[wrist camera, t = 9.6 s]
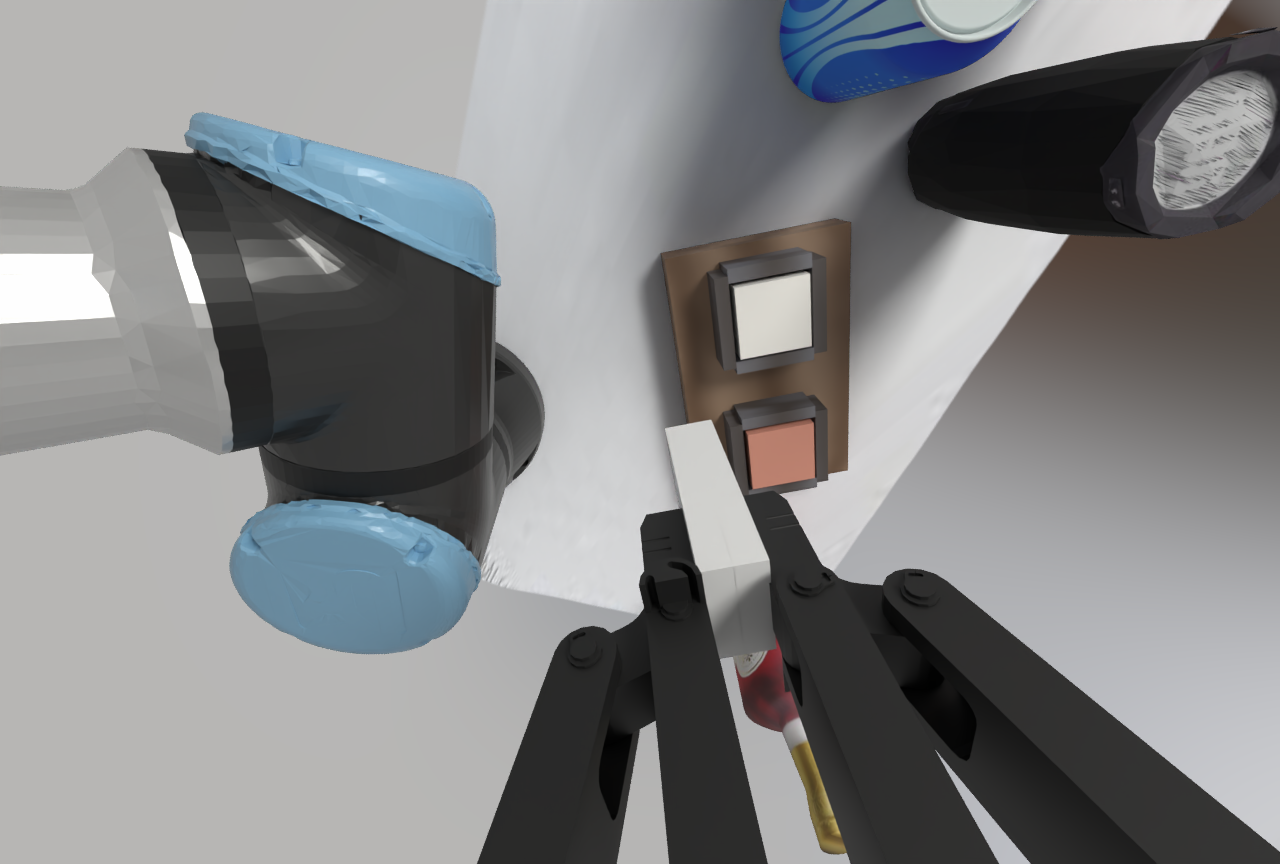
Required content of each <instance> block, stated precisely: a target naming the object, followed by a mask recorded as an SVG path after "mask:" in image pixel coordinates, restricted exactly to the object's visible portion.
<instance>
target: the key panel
mask: <svg viewBox="0 0 1280 864" xmlns="http://www.w3.org/2000/svg"><path fill="white" fill-rule="evenodd" d="M850 257H851V222H847V221H843V220H839V219H830V220H825V221H820V222H815V223H810V224H805V225H800V226H795V227H790V228H785V229H780V230H775V231H770V232H765V233H760V234H754V235H749V236H744V237H739V238H734V239H729V240H724V241H719V242H714V243H709V244H704V245H699V246H694V247H689V248H684V249H679V250H674V251H669V252H664V253H661V258H662V264H663V271H664V277H665V284H666V290H667V297H668V303H669V310H670V316H671V323H672V329H673V336H674V342H675V349H676V355H677V362H678V368H679V375H680V381H681V388H682V394H683V401H684V407H685V414H686V420H687V424H690V423H695V422H701V421H706V420H712V423H713V425H714V428H715V430H716V432H717V435H718V437H719V440H720V442H721V444H722V447H723V449H724V452H725V454H726V456H727V459H728V461H729V464H730V466H731V469H732V471H733V473H734V476H735V478H736V481H737V483H738V485H739V488H740V490H741V493H742V495H743V496H745V495H751V494H756V493H762V492H767V491H772V490H773V491H775V492H776V493H778V494H782V493H787V492H793V491H798V490H803V489H809V488H814V487H817V482H822V481H827V480H828V474H830V473H835V472H841V471H846V470H848V411H849V334H850ZM797 270H804V271H806V272H808V273H810V292H811V336H812V346H810V347H804V348H799V349H794V350H789V351H784V352H778V353H773V354H768V355H763V356H757V357H752V358H747V359H742V360H741V359H740V358H739V356H738V355H737V353H736V352H735V344H734V334H733V324H732V313H731V303H730V293H729V284H731V283H736V282H741V281H746V280H751V279H756V278H761V277H767V276H772V275H777V274H782V273H787V272H792V271H797ZM807 418H810V419H811V420H812V422H813V423H814V458H815V478H812V479H807V480H801V481H796V482H790V483H785V484H779V485H774V486H768V487H763V488H758V489H753V488H752V486H751V484H750V482H749V480H748V477H747V468H746V458H745V448H744V437H743V430H748V429H754V428H759V427H764V426H770V425H775V424H780V423H786V422H791V421H796V420H802V419H807Z"/></svg>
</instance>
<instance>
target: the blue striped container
mask: <svg viewBox="0 0 1280 864" xmlns="http://www.w3.org/2000/svg"><path fill="white" fill-rule="evenodd" d="M1036 1H1037V0H786V2H785V5H784V9H783V12H782V17H781V23H780V50H781V56H782V60H783V63H784V66H785V69H786V71H787V73H788V75H789V77H790V78H791V80H792V81H793V83H794V84H795V85H796V86H797V88H798V89H800V90H801V91H802V92H803V93H804V94H806V95H807V96H809V97H811V98H813V99H815V100H818V101H822V102H828V103H836V102H843V101H847V100H851V99H855V98H858V97H862V96H866V95H870V94H873V93H877V92H881V91H885V90H889V89H892V88H896V87H900V86H904V85H907V84H911V83H915V82H919V81H922V80H926V79H930V78H934V77H937V76H941V75H945V74H949V73H952V72H955V71H958V70H960V69H962V68H965V67H967V66H969V65H971V64H972V63H974V62H976V61H978V60H979V59H981V58H982V57H984V56H985V55H986V54H988V53H989V52H990V51H991V50H993V49H994V48H995V47H996V46H997V45H998V44H999V43H1000V42H1001V41H1002V40H1003V39H1004V38H1005V37H1006V36H1007V35H1008V34H1009V33H1010V32H1011V30H1012V29H1013V28H1014V27H1015V25H1016V24H1017V23H1018V22H1019V20H1020V19H1021V17H1022V16H1023V15H1025V14H1026V13H1027V11H1028V10H1029V9H1030V8H1031V7H1032V6H1033V5H1034V4H1035V3H1036Z"/></svg>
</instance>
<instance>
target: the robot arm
mask: <svg viewBox="0 0 1280 864" xmlns="http://www.w3.org/2000/svg"><path fill="white" fill-rule="evenodd" d="M184 136H185V140H186V144H187V146H189V147H191V148H192V149H194V153H176V152H166V151H158V150H148V149H138V148H126V149H125V150H123V151H122V152H121V153H120V154H119V155H118V156H116V157H115V158H114V159H113V160H112V161H111V162H110V163H109V164H107V165H106V166H105V167H104V168H103V169H102V170H101V171H100V172H98V173H97V174H96V175H95V176H94V177H93V178H92V179H91V180H90V181H89V182H87V183H86V184H85V185H83V186H81V187H78V188H74V189H69V190H52V189H35V188H18V187H2V186H0V455H6V454H11V453H17V452H23V451H29V450H34V449H40V448H46V447H51V446H57V445H63V444H68V443H75V442H80V441H86V440H92V439H97V438H103V437H109V436H114V435H120V434H126V433H132V432H137V431H143V430H152V431H157V432H162V433H167V434H170V435H172V436H175V437H177V438H180V439H182V440H184V441H187V442H189V443H192V444H194V445H196V446H199V447H201V448H203V449H206V450H208V451H210V452H213V453H215V454H218V455H220V454H225V453H230V452H235V451H240V450H244V449H249V448H254V447H259V451H260V456H261V461H262V465H263V471H264V476H265V480H266V485H267V490H268V500H267V504H266V507H265V509H264V510H262V511H260V512H257V513H256V514H255V515H254V516H253V517H251V518H250V519H248V521H247V523H246V524H245V525H244V526H243V527H242V529H241V532H240V533H241V535H240V536H239V538H238V539H237V541H236V542H235V544H234V547H233V549H232V552H231V557H230V573H231V578H232V581H233V583H234V586H235V588H236V589H237V591H238V593H239V595H240V596H241V598H242V599H243V600H244V602H245V603H246V604H247V605H248V606H249V607H250V608H251V609H252V610H253V611H254V612H255V613H256V614H257V615H258V616H259V617H261V618H262V619H263V620H264V621H266V622H268V623H269V624H271V625H272V626H274V627H275V628H276V629H278V630H280V631H282V632H285V633H287V634H290V635H293V636H295V637H296V638H298V639H300V640H302V641H304V642H307V643H309V644H312V645H315V646H318V647H322V648H326V649H330V650H336V651H340V652H347V653H356V654H389V653H396V652H402V651H407V650H411V649H414V648H418V647H421V646H423V645H425V644H427V643H428V642H429V641H431V640H432V639H436V638H438V637H440V636H442V635H444V634H445V633H447V632H448V631H449V630H450V629H451V628H452V627H454V625H455V624H456V623H457V622H458V621H459V620H460V618H461V616H462V615H463V613H464V612H465V610H466V607H467V605H468V602H469V600H470V598H471V595H472V593H473V592H474V591H475V590H476V589H477V587H478V584H479V582H480V579H481V566H482V562H483V559H484V556H485V552H486V549H487V546H488V543H489V539H490V536H491V533H492V529H493V526H494V523H495V520H496V516H497V513H498V510H499V506H500V503H501V500H502V497H503V493H504V490H505V487H507V486H508V485H509V484H510V483H511V482H512V481H513V480H514V479H515V478H517V477H518V476H519V475H520V474H521V473H522V472H523V471H524V470H525V469H526V468H527V466H528V465H529V464H530V462H531V461H532V459H533V458H534V456H535V454H536V452H537V450H538V447H539V444H540V441H541V437H542V432H543V428H544V420H545V412H544V404H543V399H542V395H541V392H540V390H539V387H538V385H537V383H536V381H535V379H534V377H533V376H532V374H531V373H530V371H529V370H528V369H527V367H526V366H525V365H524V364H523V363H522V362H521V361H520V360H519V359H518V358H517V357H516V356H515V355H514V354H513V353H512V352H510V351H509V350H508V349H506V348H505V347H503V346H502V345H500V344H499V343H497V342H495V332H496V287H499V286H501V278H500V276H499V275H498V274H497V263H496V224H495V217H494V213H493V210H492V207H491V205H490V203H489V202H488V200H487V199H486V198H485V196H484V195H483V194H482V193H481V192H480V191H479V190H478V189H477V188H476V187H474V186H473V185H471V184H469V183H467V182H465V181H462V180H459V179H456V178H452V177H449V176H445V175H442V174H438V173H434V172H430V171H427V170H423V169H419V168H416V167H412V166H408V165H404V164H401V163H397V162H393V161H389V160H385V159H382V158H378V157H374V156H370V155H366V154H362V153H358V152H354V151H350V150H347V149H343V148H339V147H335V146H331V145H327V144H323V143H319V142H315V141H311V140H307V139H303V138H300V137H297V136H293V135H289V134H284V133H281V132H276V131H273V130H269V129H265V128H262V127H259V126H255V125H252V124H248V123H244V122H240V121H237V120H233V119H228V118H225V117H221V116H217V115H213V114H209V113H196V114H194V115H193V116H192V118H191V119H190V126H189V130H188V131H187V132H186V133H185V135H184ZM665 431H666V437H667V442H668V448H669V454H670V459H671V465H672V471H673V476H674V482H675V488H676V493H677V499H678V503H679V508H680V509H675V510H670V511H664V512H659V513H653V514H648V515H646V517H645V519H644V521H643V523H642V525H641V527H640V531H641V541H642V551H643V562H644V572H643V574H642V575H641V577H640V582H639V588H640V592H641V596H642V600H643V604H644V609H643V611H642V612H641V614H640V615H639V616H638V617H637V618H636V619H635V620H634V621H633V622H631V623H630V624H629V625H626V626H625V627H623V628H621V629H619V630H617V631H615V632H612V633H610V632H608V631H607V630H606V629H604V628H600V627H595V626H590V627H583V628H580V629H578V630H576V631H573V632H571V633H570V634H569V635H567V636H566V637H565V638H564V639H563V640H562V641H561V642H560V644H559V645H558V647H557V649H556V650H555V652H554V655H553V658H552V661H551V663H550V666H549V669H548V672H547V674H546V677H545V680H544V682H543V685H542V688H541V691H540V694H539V696H538V699H537V702H536V704H535V707H534V710H533V713H532V715H531V718H530V721H529V724H528V726H527V729H526V732H525V734H524V737H523V740H522V742H521V745H520V748H519V751H518V754H517V756H516V759H515V762H514V765H513V767H512V770H511V773H510V775H509V779H508V781H507V784H506V786H505V789H504V792H503V794H502V797H501V800H500V803H499V805H498V808H497V811H496V813H495V816H494V819H493V822H492V824H491V827H490V830H489V833H488V835H487V838H486V841H485V843H484V846H483V849H482V852H481V854H480V857H479V860H478V863H477V864H617V858H618V853H619V847H620V841H621V836H622V829H623V824H624V818H625V812H626V807H627V801H628V795H629V790H630V784H631V777H632V773H633V766H634V761H635V755H636V750H637V744H638V738H639V731H640V729H641V728H643V727H645V726H646V725H648V724H650V723H652V722H654V721H656V727H657V738H658V748H659V760H660V770H661V781H662V791H663V802H664V812H665V823H666V834H667V844H668V855H669V864H768V863H767V858H766V855H765V850H764V846H763V842H762V837H761V833H760V829H759V824H758V820H757V816H756V812H755V807H754V803H753V799H752V795H751V790H750V786H749V782H748V778H747V773H746V769H745V765H744V760H743V756H742V752H741V748H740V743H739V739H738V735H737V731H736V727H735V723H734V718H733V714H732V710H731V705H730V701H729V697H728V692H727V688H726V684H725V680H724V676H723V671H722V667H721V663H720V659H721V658H726V657H733V656H738V655H744V654H750V653H756V652H761V651H767V650H773V649H776V639H777V641H778V644H779V647H780V650H781V653H782V664H783V678H784V688H785V692H790V691H791V694H792V697H793V700H794V702H795V705H796V708H797V711H798V714H799V717H800V720H801V722H802V725H803V728H804V731H805V734H806V737H807V740H808V743H809V745H810V748H811V751H812V754H813V757H814V760H815V763H816V765H817V768H818V771H819V774H820V777H821V780H822V783H823V786H824V788H825V791H826V794H827V797H828V800H829V803H830V806H831V809H832V811H833V814H834V817H835V820H836V823H837V826H838V829H839V831H840V834H841V837H842V840H843V843H844V846H845V849H846V852H847V854H848V857H849V860H850V863H851V864H999V863H998V861H997V860H996V858H995V856H994V854H993V852H992V851H991V849H990V847H989V845H988V843H987V842H986V840H985V838H984V836H983V834H982V833H981V831H980V829H979V827H978V826H977V824H976V822H975V820H974V818H973V817H972V815H971V813H970V811H969V809H968V808H967V806H966V804H965V802H964V801H963V799H962V797H961V795H960V793H959V792H958V790H957V788H956V786H955V785H954V783H953V781H952V779H951V777H950V776H949V774H948V772H947V770H946V769H945V767H944V765H943V763H942V761H941V759H940V758H939V756H938V754H937V752H938V753H939V754H940V756H941V757H942V758H943V759H944V760H945V762H946V763H947V764H948V765H949V766H950V768H951V769H952V770H953V771H954V772H955V774H956V775H957V776H958V777H959V778H960V780H961V781H962V782H963V783H964V784H965V786H966V787H967V788H968V789H969V790H970V792H971V793H972V794H973V795H974V796H975V798H976V799H977V800H978V801H979V802H980V804H981V805H982V806H983V807H984V808H985V809H986V811H987V812H988V813H989V814H990V815H991V817H992V818H993V819H994V820H995V821H996V823H997V824H998V825H999V826H1000V827H1001V829H1002V830H1003V831H1004V832H1005V833H1006V835H1007V836H1008V837H1009V838H1010V839H1011V841H1012V842H1013V843H1014V844H1015V845H1016V847H1017V848H1018V849H1019V850H1020V851H1021V852H1022V854H1023V855H1024V856H1025V857H1026V858H1027V860H1028V861H1029V862H1030V863H1031V864H1280V852H1279V851H1278V850H1277V849H1276V848H1274V847H1273V846H1272V845H1271V844H1269V843H1268V842H1267V841H1266V840H1265V839H1263V838H1262V837H1261V836H1260V835H1258V834H1257V833H1256V832H1255V831H1253V830H1252V829H1251V828H1250V827H1249V826H1247V825H1246V824H1245V823H1244V822H1242V821H1241V820H1240V819H1239V818H1237V817H1236V816H1235V815H1234V814H1233V813H1231V812H1230V811H1229V810H1228V809H1226V808H1225V807H1224V806H1223V805H1222V804H1220V803H1219V802H1218V801H1217V800H1215V799H1214V798H1213V797H1212V796H1210V795H1209V794H1208V793H1207V792H1205V791H1204V790H1203V789H1202V788H1201V787H1199V786H1198V785H1197V784H1195V783H1194V782H1193V781H1192V780H1191V779H1189V778H1188V777H1187V776H1186V775H1185V774H1183V773H1182V772H1181V771H1180V770H1179V769H1177V768H1176V767H1175V766H1173V765H1172V764H1171V763H1170V762H1169V761H1167V760H1166V759H1165V758H1164V757H1162V756H1161V755H1160V754H1159V753H1158V752H1156V751H1155V750H1154V749H1152V748H1151V747H1150V746H1149V745H1148V744H1147V743H1145V742H1144V741H1143V740H1142V739H1140V738H1139V737H1138V736H1137V735H1135V734H1134V733H1133V732H1132V731H1131V730H1129V729H1128V728H1127V727H1126V726H1124V725H1123V724H1122V723H1121V722H1120V721H1118V720H1117V719H1116V718H1115V717H1113V716H1112V715H1111V714H1110V713H1108V712H1107V711H1106V710H1105V709H1104V708H1102V707H1101V706H1100V705H1099V704H1097V703H1096V702H1095V701H1093V700H1092V699H1091V698H1090V697H1089V696H1088V695H1086V694H1085V693H1084V692H1083V691H1081V690H1080V689H1079V688H1078V687H1076V686H1075V685H1074V684H1073V683H1072V682H1070V681H1069V680H1068V679H1067V678H1065V677H1064V676H1063V675H1062V674H1060V673H1059V672H1058V671H1057V670H1056V669H1054V668H1053V667H1052V666H1051V665H1049V664H1048V663H1047V662H1046V661H1045V660H1043V659H1042V658H1041V657H1039V656H1038V655H1037V654H1036V653H1035V652H1033V651H1032V650H1031V649H1030V648H1029V647H1027V646H1026V645H1025V644H1023V643H1022V642H1021V641H1020V640H1019V639H1017V638H1016V637H1015V636H1014V635H1013V634H1011V633H1010V632H1009V631H1008V630H1006V629H1005V628H1004V627H1003V626H1001V625H1000V624H999V623H998V622H997V621H995V620H994V619H993V618H991V617H990V616H989V615H988V614H987V613H985V612H984V611H983V610H982V609H980V608H979V607H978V606H977V605H976V604H974V603H973V602H972V601H971V600H969V599H968V598H967V597H966V596H965V595H963V594H962V593H961V592H960V591H958V590H957V589H956V588H955V587H954V586H952V585H951V584H950V583H949V582H947V581H946V580H944V579H943V578H941V577H939V576H938V575H936V574H934V573H931V572H927V571H924V570H920V569H903V570H899V571H895V572H893V573H892V574H890V575H889V576H887V577H886V580H885V581H884V584H883V585H869V584H859V583H852V582H848V581H845V580H842V579H840V578H838V577H837V576H836V575H835V573H834V572H833V571H831V570H830V569H828V568H826V567H824V566H823V565H822V564H821V562H820V561H819V559H818V557H817V555H816V553H815V551H814V549H813V548H812V546H811V544H810V542H809V540H808V538H807V537H806V535H805V533H804V531H803V529H802V527H801V525H799V522H798V520H797V518H796V516H795V515H794V513H793V511H792V509H791V507H790V505H789V503H788V501H787V500H786V499H785V498H783V497H782V496H780V495H779V494H778V493H776V492H775V491H773V490H772V491H767V492H762V493H756V494H751V495H745V496H743V495H742V493H741V490H740V488H739V485H738V483H737V481H736V478H735V476H734V473H733V471H732V469H731V466H730V464H729V461H728V459H727V456H726V454H725V452H724V449H723V447H722V444H721V442H720V440H719V437H718V435H717V432H716V430H715V428H714V425H713V423H712V420H706V421H701V422H695V423H690V424H685V425H679V426H674V427H669V428H665ZM935 750H936V751H937V752H936V751H935Z"/></svg>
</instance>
